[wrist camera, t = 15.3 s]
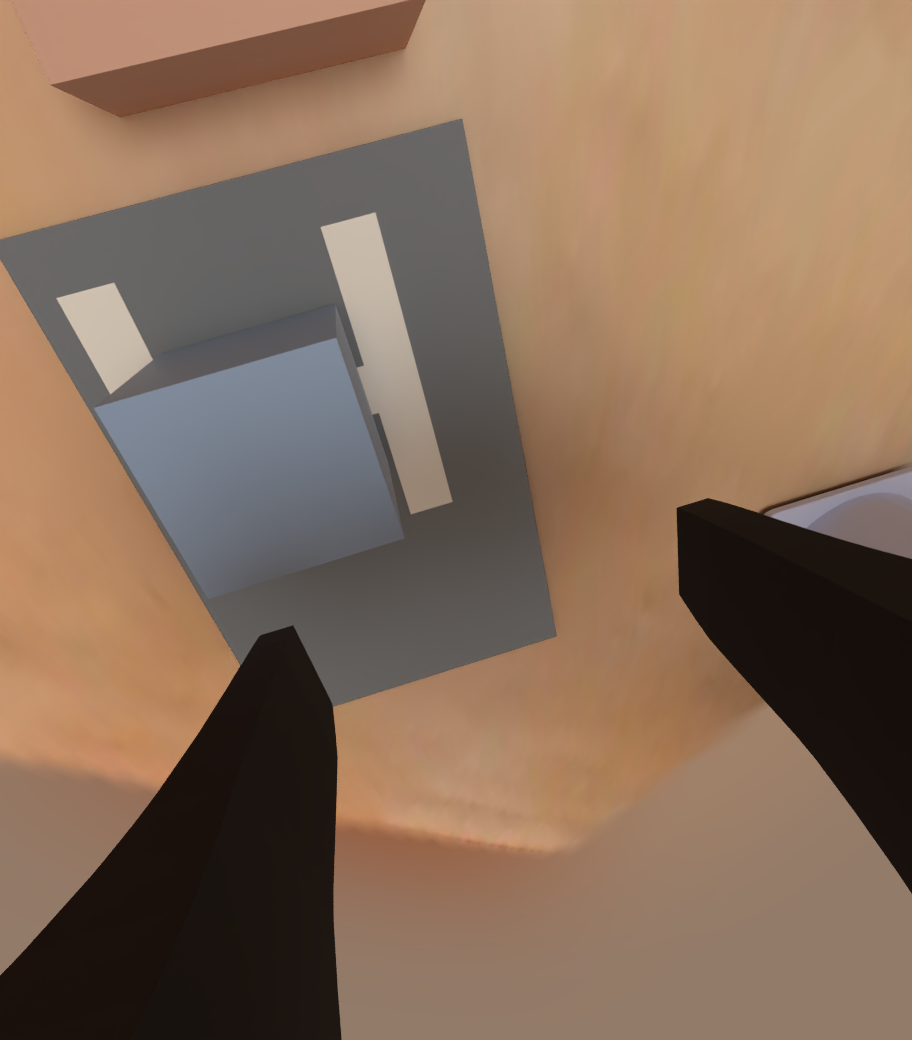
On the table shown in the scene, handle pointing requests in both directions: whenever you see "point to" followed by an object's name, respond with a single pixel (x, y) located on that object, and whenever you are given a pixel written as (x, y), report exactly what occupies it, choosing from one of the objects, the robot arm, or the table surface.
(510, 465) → the letter mat
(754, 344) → the table surface
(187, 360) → the blue cube
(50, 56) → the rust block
